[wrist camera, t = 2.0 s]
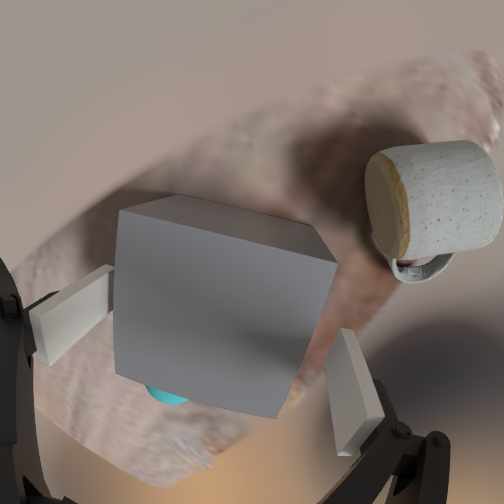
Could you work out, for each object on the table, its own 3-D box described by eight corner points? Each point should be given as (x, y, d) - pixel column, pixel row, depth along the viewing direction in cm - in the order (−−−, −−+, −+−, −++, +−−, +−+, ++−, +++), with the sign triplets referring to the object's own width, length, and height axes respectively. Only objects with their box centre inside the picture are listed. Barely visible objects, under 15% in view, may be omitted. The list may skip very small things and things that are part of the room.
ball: (154, 371, 25) (135, 403, 21) (156, 332, 24) (133, 364, 19) (201, 386, 25) (189, 422, 21) (208, 348, 24) (194, 384, 19)
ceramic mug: (351, 153, 19) (392, 146, 11) (440, 142, 18) (501, 138, 10) (370, 286, 22) (406, 337, 14) (450, 264, 20) (502, 301, 13)
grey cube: (162, 311, 23) (115, 373, 15) (179, 194, 21) (119, 210, 12) (277, 342, 23) (275, 419, 15) (313, 226, 20) (338, 263, 12)
